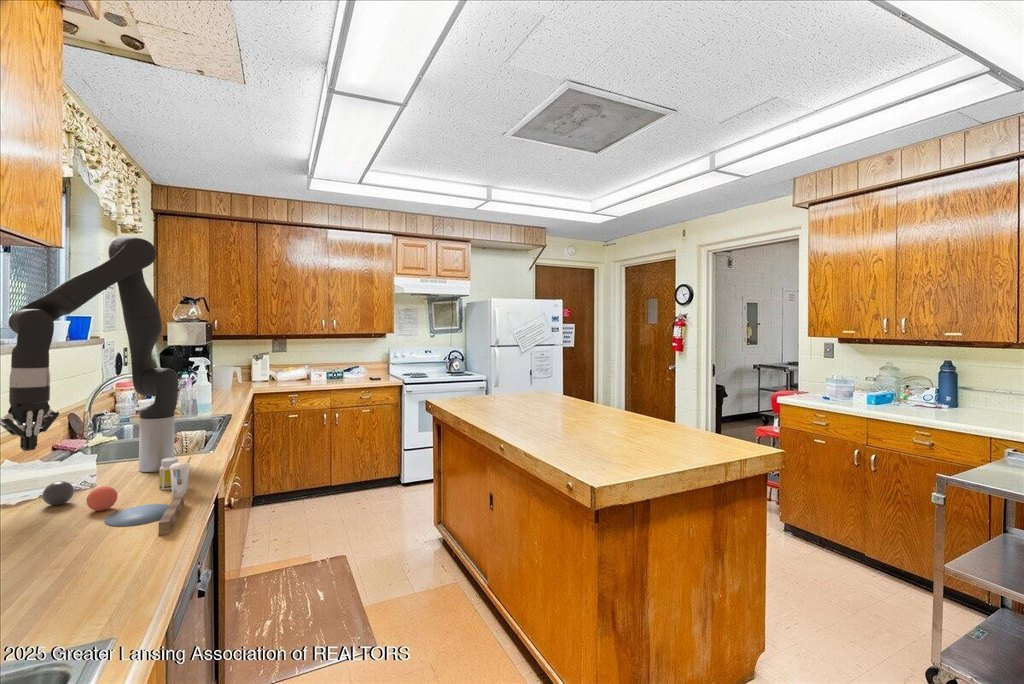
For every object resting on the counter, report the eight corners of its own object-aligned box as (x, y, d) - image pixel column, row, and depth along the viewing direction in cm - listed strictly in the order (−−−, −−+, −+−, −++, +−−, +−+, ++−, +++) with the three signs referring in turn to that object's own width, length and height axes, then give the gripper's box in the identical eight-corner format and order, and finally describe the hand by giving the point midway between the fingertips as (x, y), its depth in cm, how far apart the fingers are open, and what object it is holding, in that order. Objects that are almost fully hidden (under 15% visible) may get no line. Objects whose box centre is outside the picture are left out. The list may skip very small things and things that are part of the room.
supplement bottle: (183, 485, 141) (183, 457, 141) (170, 490, 136) (170, 461, 136) (168, 484, 142) (168, 456, 141) (155, 489, 137) (155, 460, 137)
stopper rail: (175, 505, 126) (175, 494, 125) (184, 504, 126) (184, 493, 126) (158, 535, 108) (158, 522, 108) (169, 534, 108) (169, 521, 108)
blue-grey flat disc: (128, 505, 125) (128, 504, 125) (186, 504, 127) (186, 503, 127) (89, 527, 111) (89, 526, 111) (155, 525, 113) (155, 524, 113)
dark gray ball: (54, 500, 126) (54, 478, 126) (79, 500, 127) (80, 478, 127) (35, 509, 120) (35, 485, 120) (62, 508, 121) (62, 485, 121)
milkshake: (195, 492, 136) (196, 457, 136) (177, 498, 131) (177, 462, 130) (184, 490, 137) (184, 455, 137) (165, 496, 132) (166, 460, 132)
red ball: (97, 506, 124) (97, 483, 123) (122, 505, 125) (123, 482, 124) (80, 514, 118) (80, 491, 118) (107, 514, 119) (107, 490, 118)
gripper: (10, 387, 118) (9, 457, 118) (69, 383, 131) (68, 445, 131) (-13, 386, 119) (-15, 455, 119) (47, 381, 132) (46, 443, 132)
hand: (28, 450), depth 125 cm, fingers closed
